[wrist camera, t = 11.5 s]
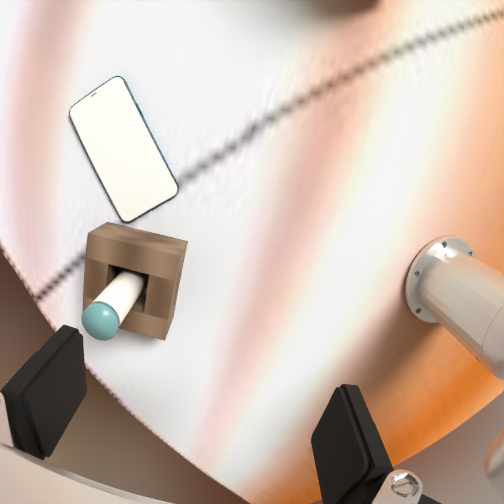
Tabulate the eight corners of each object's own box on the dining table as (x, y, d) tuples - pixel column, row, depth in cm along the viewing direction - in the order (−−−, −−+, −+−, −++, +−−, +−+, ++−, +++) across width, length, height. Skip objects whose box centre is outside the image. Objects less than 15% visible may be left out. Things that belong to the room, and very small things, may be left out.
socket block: (187, 241, 36) (179, 255, 31) (173, 317, 39) (164, 340, 34) (107, 222, 35) (88, 233, 30) (99, 297, 38) (82, 316, 32)
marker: (152, 264, 36) (117, 312, 24) (148, 290, 37) (115, 344, 25) (125, 258, 35) (82, 301, 24) (123, 283, 36) (81, 334, 25)
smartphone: (183, 191, 35) (123, 74, 30) (182, 192, 34) (120, 72, 30) (126, 223, 36) (69, 111, 31) (123, 225, 35) (66, 110, 30)
